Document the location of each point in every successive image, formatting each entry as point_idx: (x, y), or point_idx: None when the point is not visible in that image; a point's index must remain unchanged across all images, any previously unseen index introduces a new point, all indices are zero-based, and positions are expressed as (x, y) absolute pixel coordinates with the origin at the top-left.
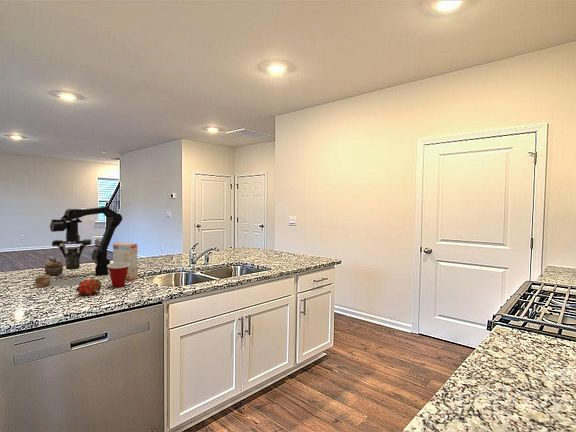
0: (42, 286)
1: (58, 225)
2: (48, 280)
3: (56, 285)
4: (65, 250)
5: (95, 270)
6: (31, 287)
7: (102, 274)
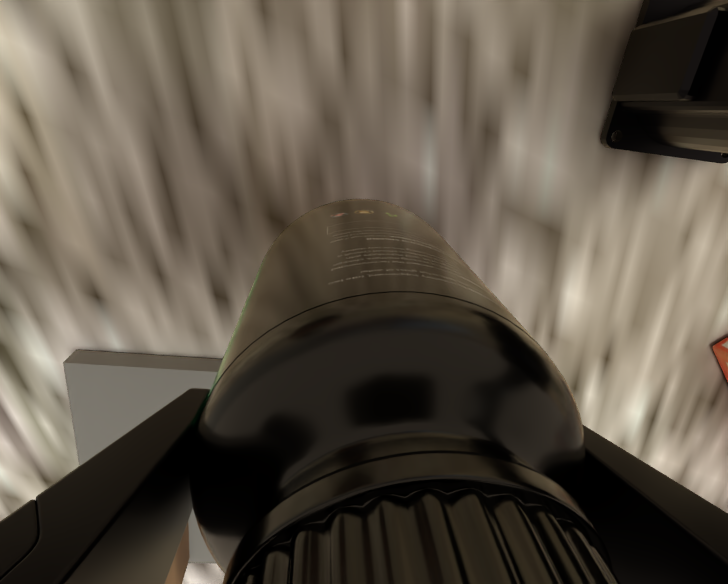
0: None
1: None
2: (173, 574)
3: None
4: (90, 564)
5: (645, 97)
6: (34, 455)
7: (674, 156)
